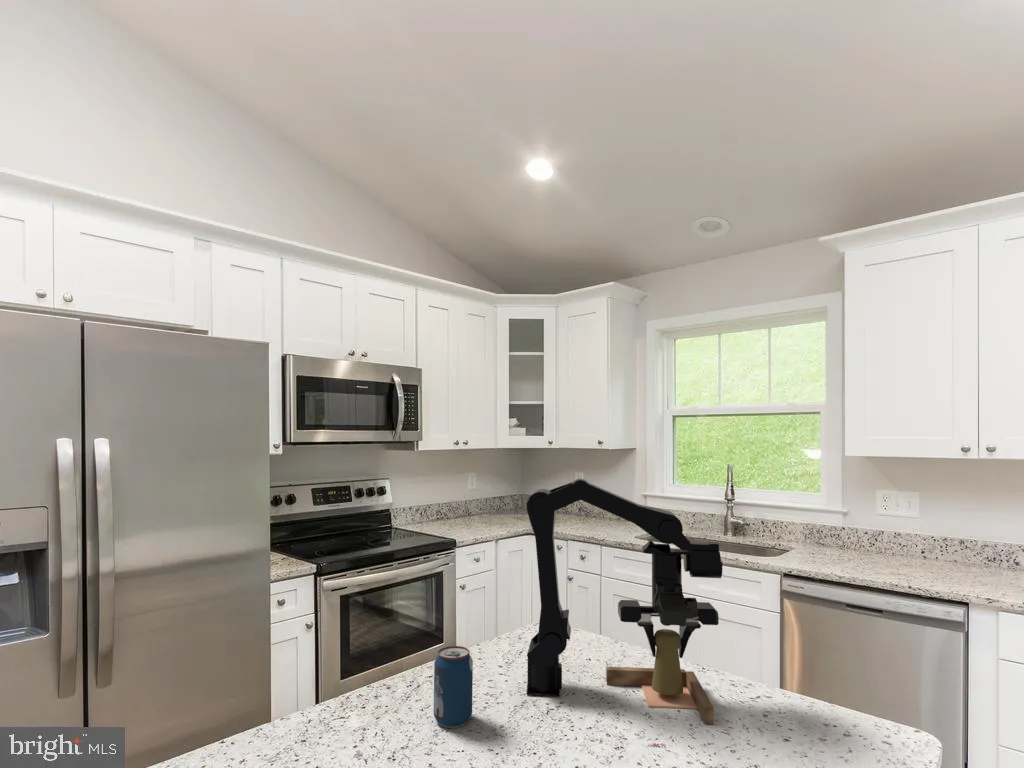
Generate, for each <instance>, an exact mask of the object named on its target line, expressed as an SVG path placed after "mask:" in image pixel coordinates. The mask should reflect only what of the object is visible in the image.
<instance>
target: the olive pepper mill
mask: <svg viewBox="0 0 1024 768" xmlns="http://www.w3.org/2000/svg"><path fill="white" fill-rule="evenodd" d="M654 640H655V648H656V656H655V657H654V658H655V659H654V664H653V665H654V666H653V668H654V673H653V680H652V689H653V690H654V691H656V692H658V693H660V694H664V695H679V694H681V693H682V692H683V684H682V677H681V662H680V657H679V648H680V645H681V638H680V635H679V632H677V631H675V630H673V629H667V628H662V629H658V630H656V631H655V633H654Z"/></svg>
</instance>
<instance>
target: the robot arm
mask: <svg viewBox="0 0 1024 768" xmlns="http://www.w3.org/2000/svg"><path fill="white" fill-rule="evenodd" d="M578 501H583V502H585V503H587V504H588V505H589V504H590V505H592V506H594V507H596V508H598V509H601V510H603V511H605V512H607V513H610V514H613V515H615V516H616V517H619V518H621V519H624V520H626V521H629V522H631V523H632V524H634V525H635V526H637V527H639V528H640V529H641V530H642V531H644V532H645V533H647V534H648V535H650V536H651V537H653V538H654V539H656V540H658V541H659V542H661V543H655V542H654V541H653V540H652V539H648V541H647V542H646V543H645V544H644V545H642V547H641V550H642V552H643V553H644V554H651V605H641V604H640V603H639V601H638V600H635V599H620V600H619V602H617V614H618V618H619V620H620V622H623V623H636V624H637V626H638V627H640V628H641V627H642V628H643V630H644V632H645V635H646V638H647V642H648V645H649V648H650V650H651V654H652V657H653V658H655V657H656V649H657V647H656V646H655V640H654V634H655V633H654V627H655V626H654V623H653V621H652V617H659V622H660V624H661V625H662V626H666V627H669V626H679V628H678V629H679V631H678V634H679V635H680V638H681V645H680V648H679V649H678V654H679V659H683V656H684V654H685V651H686V648H687V646H688V643H689V640H690V637H691V635H692V633H693V632H695V630H698V629H701V628H702V625H704V626H718V625H719V613H718V610H717V609H716V608H715V607H714V606H713V605H712V604H711V603H710V602H703V601H702V602H701V601H700V602H699V601H697V598H696V597H685V596H684V594H683V593H684V592H683V585H682V582H683V581H682V577H683V576H682V563H683V571H684V572H685V573H686V572H689V573H688V574H689V577H690V578H704V579H705V578H707V579H722V577H723V561H722V557H721V552H720V545H719V543H717V542H716V541H715V542H714V541H709V542H694V541H693V542H691V540H690V539H689V538H688V537H687V536H685V534H683V531H684V530H683V524H682V522H681V520H680V519H679V518H678V517H677V516H676V515H675V513H673V512H671V511H670V510H666V509H662V508H658V507H653V506H648V505H643V504H640V503H637V502H635V501H632V500H629V499H627V498H625V497H622V496H620V495H618V494H616V493H614V492H611V491H609V490H606V489H604V488H603V487H600V486H598V485H595V484H593V483H591V482H588V480H586V479H584V478H577V479H575V480H573V481H572V482H570V483H566V484H564V485H560V486H557V487H554V488H552V489H550V490H549V489H547V488H546V489H545V488H539V489H537V490H535V491H534V492H532V494H531V495H530V496H529V497H528V499H527V502H526V511H527V515H528V519H529V523H530V526H531V529H532V532H533V534H534V538H535V547H536V548H535V549H536V550H535V551H536V561H537V562H536V563H537V569H538V570H537V573H538V583H539V584H538V585H539V596H540V597H539V598H540V613H539V614H540V615H539V624H538V631H537V633H536V634H535V635H534V636H533V637H532V638H531V639H530V643H529V646H528V651H527V654H526V657H527V682H526V683H527V686H526V695H527V696H544V697H545V696H548V697H559V696H560V694H561V693H560V690H562V689H563V666H562V665H563V664H562V663H561V662H560V659H559V658H560V656H559V655H561V654H562V653H564V651H565V650H566V648H567V645H568V644H567V643H568V641H569V640H571V632H572V626H571V625H570V621H569V617H570V609H569V608H568V609H564V610H563V607H562V605H561V601H560V591H559V582H558V581H559V580H558V567H557V557H556V555H557V554H556V546H555V535H554V534H555V524H556V517H557V516H556V515H557V514H556V513H557V510H561V509H563V508H565V507H567V506H569V505H572V504H574V503H576V502H578ZM671 544H672V545H674V546H675V547H677V548H675V547H674V548H672V547H671V546H670V545H671ZM682 555H683V556H682ZM682 557H683V560H682ZM682 561H683V562H682Z"/></svg>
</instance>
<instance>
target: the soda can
mask: <svg viewBox="0 0 1024 768" xmlns="http://www.w3.org/2000/svg"><path fill="white" fill-rule="evenodd" d="M473 662H474V660H473V657H472V656H471V654H470V650H469V649H468V648H467V647H466V646H465V647H464V646H461V645H459V646H458V645H450V646H444V647H442V648H440V649H439V650H438V651H437V656H436V657H435V660H434V663H433V664H434V665H433V666H434V668H433V669H434V670H433V671H434V672H433V717H434V718H435V720H436V722H437V724H438V725H439V726H441V727H443V728H447V729H448V728H449V729H455V728H461V727H463V726H465V725H466V724H468V722H469V720H470V719H471V716H472V715H473V679H474V678H473V673H474V672H473V669H474V668H473V667H474V666H473V665H474V664H473Z"/></svg>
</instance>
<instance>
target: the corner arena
mask: <svg viewBox="0 0 1024 768" xmlns="http://www.w3.org/2000/svg"><path fill="white" fill-rule="evenodd" d="M680 669H681V668H680ZM605 670H606V672H605V673H606V674H605V676H606V677H605V679H606V680H605V681H606V682H607V683H606V686H624V685H628V686H630V687H631V686H632V687H634V686H635V687H641V689H642V691H643V695H644V697H645V700H646V703H647V706H648V708H660V709H662V708H665V709H688V710H689V709H690V710H697V713H698V714H699V715H700V718H701V720H702V722H703V723H704V725H715V717H714V716H715V715H714V711H715V709H714V708H715V707H714V705H713V703H712V702H711V700H710V698H709V697H708V695H707V693H706V691H705V689H704V688H703V686H702V684H701V683H700V681H699V679H698V677H697V675H696V673H695V672H694V671H690V670H689V671H688V670H687V671H686V669H684V668H682V669H681V677H682V684H683V692H682V693H681V694H679V695H664V694H660V693H658V692H656V691H654V690H653V689H652V680H653V673H654V667H625V666H624V667H623V666H620V667H619V666H605Z"/></svg>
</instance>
